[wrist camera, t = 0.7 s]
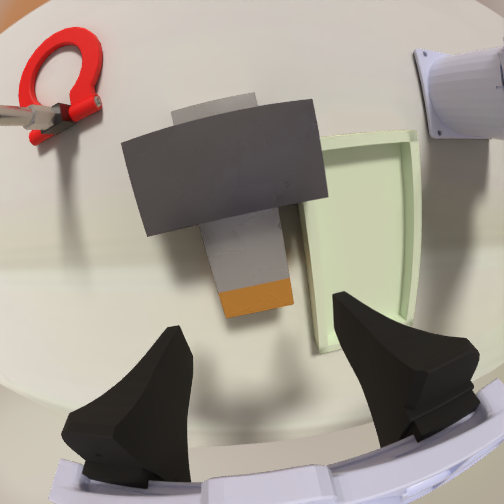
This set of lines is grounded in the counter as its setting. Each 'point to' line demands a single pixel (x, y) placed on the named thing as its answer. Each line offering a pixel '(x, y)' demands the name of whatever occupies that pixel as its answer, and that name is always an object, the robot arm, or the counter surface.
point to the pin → (243, 240)
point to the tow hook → (81, 95)
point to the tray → (365, 228)
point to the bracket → (226, 165)
